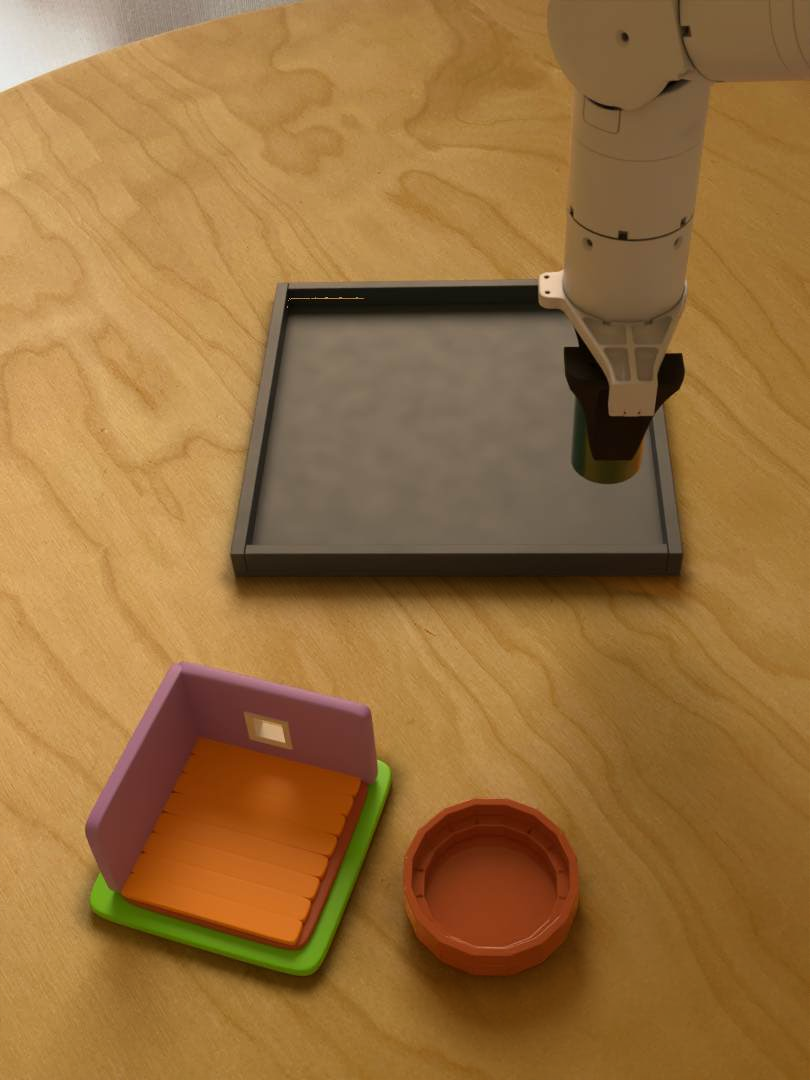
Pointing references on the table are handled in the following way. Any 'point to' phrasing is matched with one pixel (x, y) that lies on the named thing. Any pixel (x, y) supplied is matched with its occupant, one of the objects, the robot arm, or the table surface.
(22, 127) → the table surface
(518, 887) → the dish
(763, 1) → the robot arm
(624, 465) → the bottle
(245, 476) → the tray
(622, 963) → the table surface
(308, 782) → the miniature room corner
